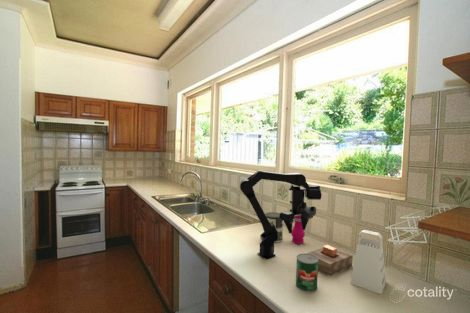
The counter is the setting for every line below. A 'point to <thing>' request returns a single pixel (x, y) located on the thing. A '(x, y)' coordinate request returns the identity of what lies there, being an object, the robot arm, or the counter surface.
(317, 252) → the well block
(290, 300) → the counter surface
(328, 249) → the tall wooden block
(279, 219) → the coffee can
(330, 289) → the counter surface
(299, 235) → the pepper mill
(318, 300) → the counter surface
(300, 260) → the canned tomato
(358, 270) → the grater
